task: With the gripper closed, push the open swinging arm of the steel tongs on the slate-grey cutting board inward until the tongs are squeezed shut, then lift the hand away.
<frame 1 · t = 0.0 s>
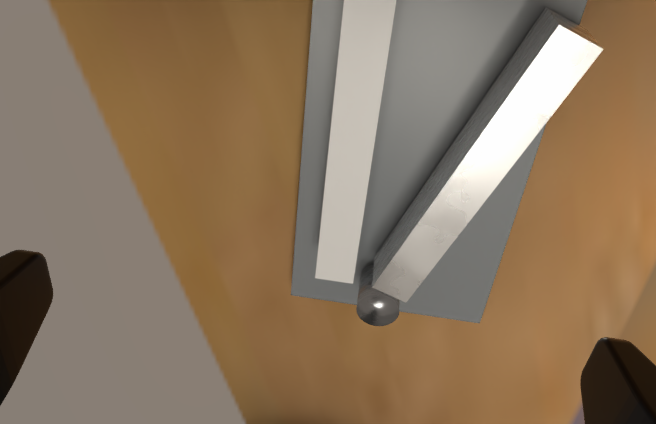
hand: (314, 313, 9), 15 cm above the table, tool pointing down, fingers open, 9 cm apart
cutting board: (413, 150, 24), on the table
tong arm: (453, 191, 22), point 2 cm above the table, hinge at -20.0°
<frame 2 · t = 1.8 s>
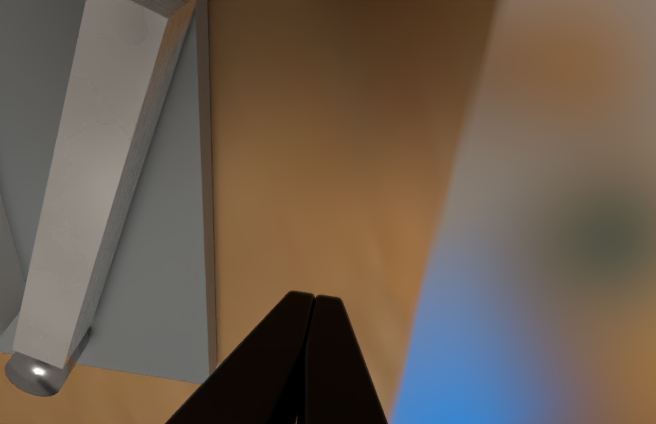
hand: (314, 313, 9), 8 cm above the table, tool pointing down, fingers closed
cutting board: (68, 165, 18), on the table
tong arm: (84, 224, 16), point 2 cm above the table, hinge at -20.0°
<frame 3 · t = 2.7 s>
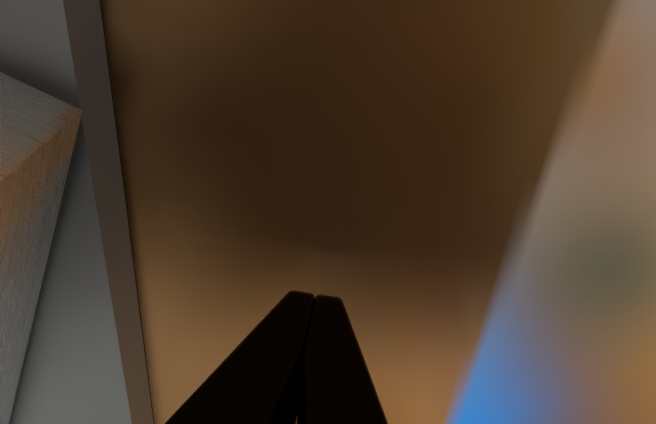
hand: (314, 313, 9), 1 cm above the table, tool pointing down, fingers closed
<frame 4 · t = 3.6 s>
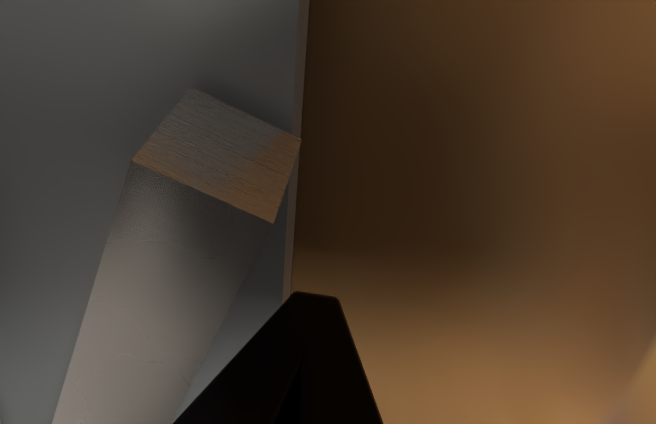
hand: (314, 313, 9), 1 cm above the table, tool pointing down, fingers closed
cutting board: (79, 330, 12), on the table
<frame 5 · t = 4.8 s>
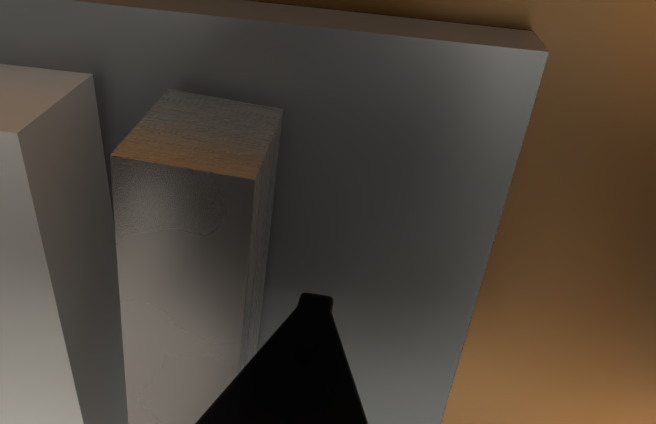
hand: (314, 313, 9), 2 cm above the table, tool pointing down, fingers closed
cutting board: (230, 372, 13), on the table
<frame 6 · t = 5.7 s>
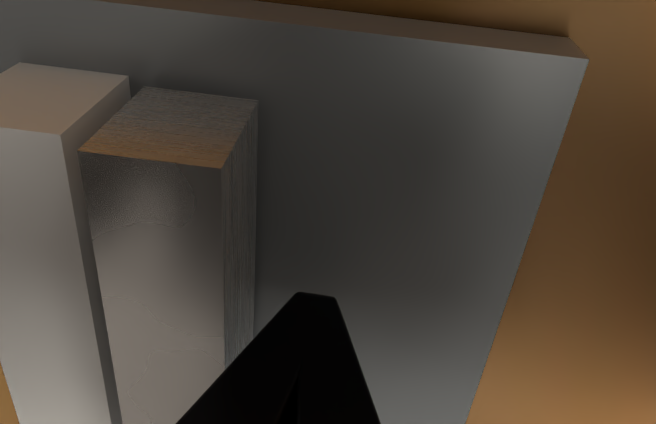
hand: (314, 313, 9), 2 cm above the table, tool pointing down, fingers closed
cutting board: (251, 374, 13), on the table
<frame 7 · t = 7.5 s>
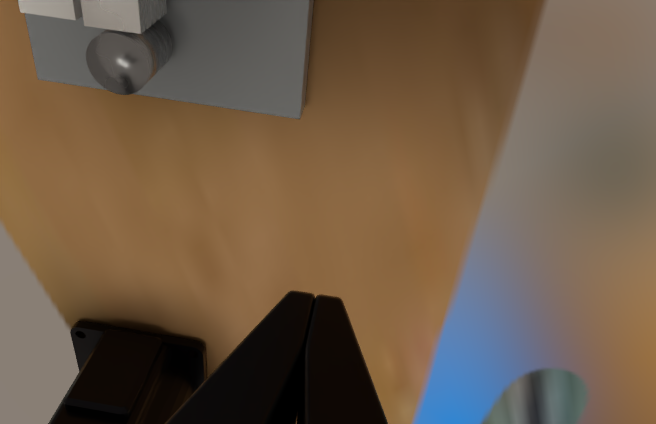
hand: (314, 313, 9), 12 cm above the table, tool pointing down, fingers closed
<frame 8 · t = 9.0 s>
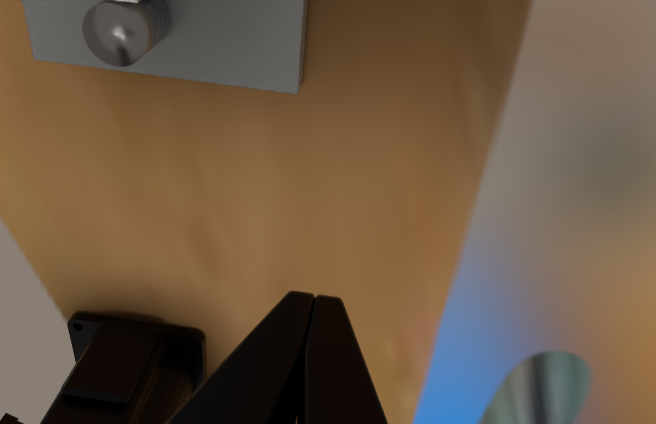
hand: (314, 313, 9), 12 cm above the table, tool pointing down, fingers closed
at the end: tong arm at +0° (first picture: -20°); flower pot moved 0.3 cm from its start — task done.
